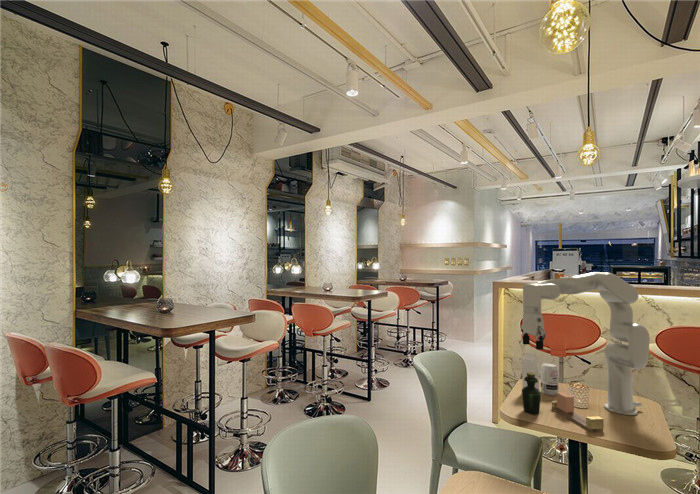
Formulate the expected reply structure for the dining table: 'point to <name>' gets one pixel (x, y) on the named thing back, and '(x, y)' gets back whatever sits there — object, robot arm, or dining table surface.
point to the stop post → (595, 422)
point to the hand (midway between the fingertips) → (532, 346)
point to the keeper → (565, 402)
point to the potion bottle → (531, 395)
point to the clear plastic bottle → (530, 367)
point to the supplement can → (549, 379)
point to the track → (574, 417)
